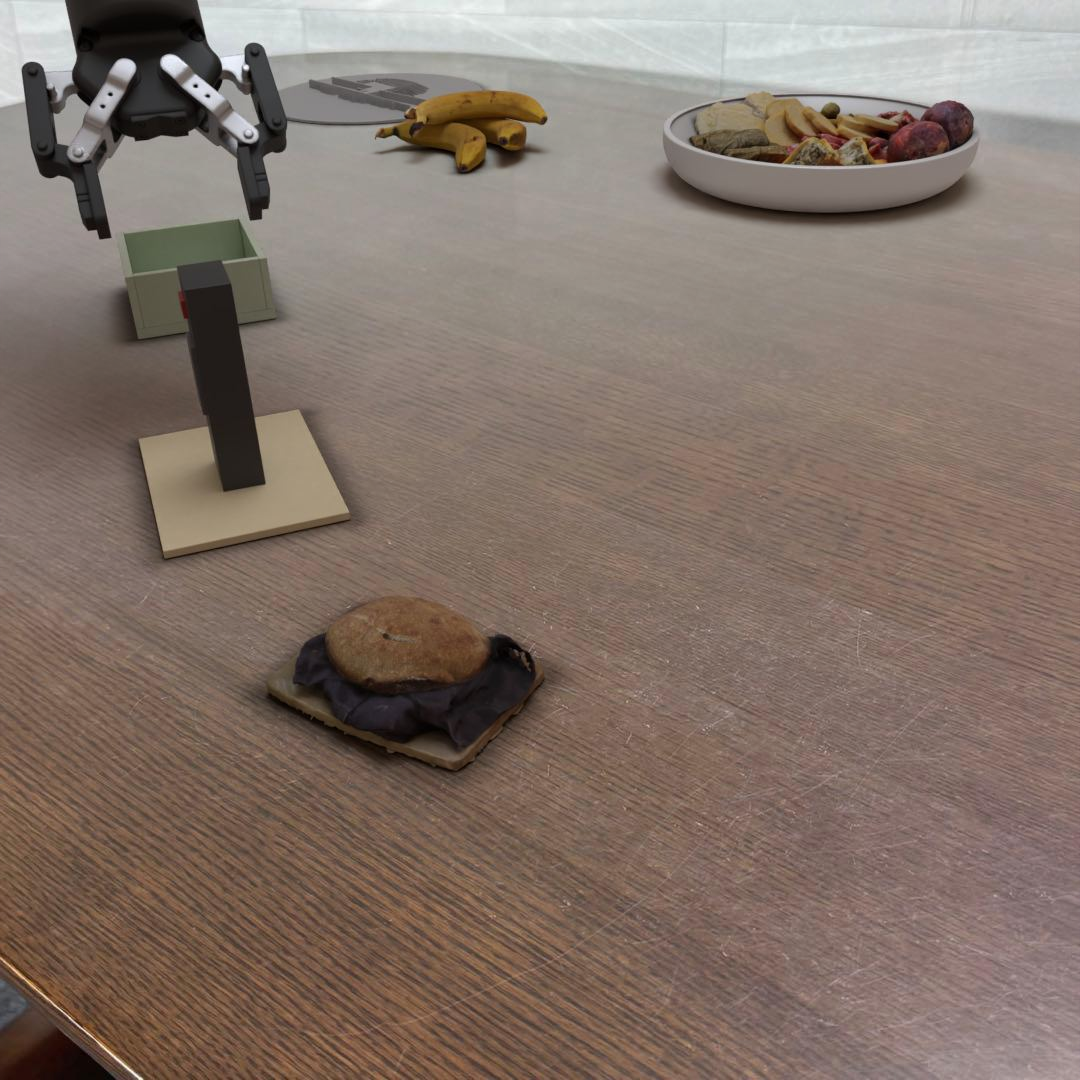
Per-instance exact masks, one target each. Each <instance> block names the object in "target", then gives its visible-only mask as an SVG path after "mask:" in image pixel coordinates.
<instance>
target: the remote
mask: <svg viewBox="0 0 1080 1080" xmlns="http://www.w3.org/2000/svg"><path fill="white" fill-rule="evenodd" d="M177 271H178V276H179V281H180V286H181V291H179V292H178V297H179V302H180V307H181V311H182V314H183V317H184V319H187V322H188V327H189V332H185V338H186V343H187V347H188V353H189V358H190V364H191V368H192V373H193V378H194V384H195V388H196V393H197V398H198V402H199V405H200V408H201V413H202V416H205V418H206V423H207V426H208V429H209V434H210V439H211V444H212V449H213V454H214V459H215V463H216V467H217V470H218V474H219V477H220V481H221V484H222V488H223V491H224V492H226V491H231V490H237V489H242V488H247V487H252V486H257V485H263V484H266V481H265V475H264V469H263V464H262V458H261V452H260V446H259V441H258V435H257V429H256V423H255V417H256V416H255V412H254V406H253V400H252V395H251V390H250V389H251V388H250V383H249V378H248V373H247V372H248V371H247V367H246V361H245V360H246V359H245V355H244V349H243V342H242V336H241V332H240V326H239V325H240V324H238V319H237V313H236V308H235V302H234V296H233V290H232V285H231V282H230V279H229V277H228V275H227V272H226V270H225V268H224V265H223V263H222V261H221V260H217V261H209V262H202V263H195V264H188V265H181V266H177Z"/></svg>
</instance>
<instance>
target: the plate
mask: <svg viewBox="0 0 1080 1080" xmlns="http://www.w3.org/2000/svg"><path fill="white" fill-rule="evenodd" d="M468 91H484V89H482V87H481V86H480V85H479V84H478V83H475V82H473V81H471V80H467V79H465V78H462V77H461V78H460V77H456V76H450V75H443V74H433V73H414V72H413V73H411V72H410V73H406V72H404V73H403V72H401V73H395V72H393V73H367V74H354V75H344V76H331V77H328V78H323V79H317V80H316V79H313V78H309V80H308V82H303V83H299V84H295V85H292V86H288V87H286V88H283V89H281V90H278V93H279V96H280V99H281V102H282V106H283V109H284V112H285V115H286V118H287V121H292V122H299V123H307V124H318V125H319V124H320V125H376V124H379V125H380V124H390V123H392V124H393V123H401V122H404V121H408V120H411V119H406V118H405V117H404V114H405V111H406V110H407V109H410V108H413V107H417V106H418V105H419V104H420V103H422V102H424V101H426V100H428V99H431V98H434V97H438V96H442V95H446V94H452V93H459V92H468Z"/></svg>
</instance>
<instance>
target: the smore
mask: <svg viewBox="0 0 1080 1080" xmlns="http://www.w3.org/2000/svg"><path fill="white" fill-rule="evenodd" d="M515 650H516V651H517V652H515ZM523 653H524V656H522V655H523ZM545 678H546V675H545V670H544V668H543V667H542V666H541V665H540V664H538V663H537V662H535V660H534V659H533V658H532V654H531V653H530V652H529V651H528V650H526V649H523V648H522V646H520V645H519V644H518V642H516V641H515V640H514V639H513V638H512V637H511V636H509V635H506V634H501V633H497V634H495V635H494V636H486V635H485V634H484V633H483V631H482V630H480V629H479V628H478V626H476V625H475V624H473V623H472V622H471V621H470V620H468V619H466V618H465V617H463V616H461V615H460V614H458V613H457V612H455V611H452V609H449V608H447V607H445V606H444V605H442V604H440V603H437V602H434V601H431V600H428V599H424V598H422V597H414V596H406V595H404V596H403V595H394V596H393V595H390V596H388V595H387V596H384V597H382V596H381V597H378V598H374V599H371V600H370V601H367V602H362V603H361V602H360V604H357V605H355V606H354V607H352V608H351V609H349V610H347V611H346V612H344V614H342V615H341V616H340V617H339V618H338V619H335V620H334V621H333V622H332V623H331V624H330V625H329V627H328V628H326V629H325V630H324V631H323V632H322V633H320V634H317V635H316V636H314V637H312V638H309V639H308V640H307V641H305V642H304V643H303V646H301V648H300V651H298V652H297V653H296V654H295V655H294V656H293V657H291V658H290V659H289V660H287V662H285V664H283V665H282V666H281V667H280V668H278V669H277V670H276V671H274V672H273V673H272V674H271V675H270V676H269V678H268V679H267V682H266V689H265V692H269V694H271V695H272V696H273V698H275V697H276V699H277V700H279V701H280V702H282V703H286V704H287V705H288V706H290V707H291V708H294V709H295V710H296V711H299V710H300V711H302V714H306V715H310V716H311V717H310V720H312V719H313V718H314V717H315V719H316V720H318V721H320V722H323V725H326V726H327V727H331V728H334V727H336V728H337V729H338V730H339V731H342V732H343V734H344V735H350V736H354V737H356V738H358V739H360V740H363V741H364V742H369V741H370V742H371V743H372V744H374V745H377V746H380V747H381V746H382V747H385V748H386V751H387V753H388V754H393V753H395V752H397V753H401V754H404V755H406V756H407V757H409V758H416V759H418V760H421V761H422V762H424V763H427V764H429V765H431V767H434V768H435V767H436V766H438V767H440V768H444V769H449V770H450V771H454V772H455V771H458V770H460V769H461V768H462V767H464V766H466V765H467V764H468V763H470V762H474V761H475V760H476V756H477V754H479V753H481V752H482V751H481V750H483V749H484V747H485V746H487V744H489V743H488V742H489V741H492V740H493V739H494V738H496V736H498V735H499V734H500V733H501V732H502V730H503V729H504V727H503V725H504V723H506V722H507V721H508V720H509V718H510V717H511V716H514V715H518V714H519V712H520V711H521V710H522V709H523V707H524V704H525V701H526V700H527V699H528V698H529V697H530V696H531V694H532V693H533V692H534V691H535V689H536V688H537V687H538V686H540V685H541V684H542V682H543V681H544V679H545Z"/></svg>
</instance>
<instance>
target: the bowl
mask: <svg viewBox="0 0 1080 1080" xmlns="http://www.w3.org/2000/svg"><path fill="white" fill-rule="evenodd" d="M974 121H975V117H974V114H973V113H972V111H971V110H970V109H969V108H968V107H967V106H965V104H964V103H962V102H959V101H958V102H957V101H956V100H950V99H947V100H944V101H940V102H936V103H934V104H933V105H932V104H928V103H923V102H920V101H915V100H910V99H909V100H908V99H904V98H903V99H902V98H896V97H889V96H882V95H881V96H880V95H873V94H872V95H871V94H860V93H859V94H858V93H847V92H823V91H822V92H820V91H819V92H817V91H816V92H815V91H813V92H811V91H810V92H807V91H806V92H805V91H804V92H803V91H802V92H796V91H795V92H775V93H774V92H773V93H771V92H766V91H765V90H761V91H760V92H753V93H748V94H747V95H741V96H740V95H739V96H733V97H727V98H721V99H715V100H710V101H707V102H702V103H698V104H695V105H692V106H689V107H686V108H683V109H680V110H679V111H677V112H675V113H673V114H671V116H669V117H668V118H667V119H666V120H665V122H664V123H663V125H662V126H663V127H662V145H663V151H664V153H665V157H666V160H667V162H668V163H669V165H670V167H671V168H672V169H673V171H674V172H675V174H677V176H679V177H680V178H681V179H682V180H683V181H684V182H686V183H687V184H688V185H690V186H692V187H693V188H695V189H696V190H699V191H700V192H702V193H704V194H707V195H709V196H712V197H715V198H718V199H721V200H724V201H726V202H727V201H728V202H731V203H736V204H740V205H745V206H749V207H754V208H760V209H766V210H776V211H783V212H784V211H785V212H797V213H817V214H818V213H820V214H821V213H824V214H825V213H829V214H830V213H831V214H833V213H856V212H869V211H877V210H885V209H891V208H895V207H902V206H906V205H910V204H913V203H917V202H920V201H923V200H926V199H928V198H932V197H933V196H936V195H937V194H940V193H942V192H944V191H945V190H947V189H949V188H950V187H952V186H953V185H954V184H956V183H957V182H958V181H959V180H960V179H961V178H963V176H964V175H965V174H966V173H967V171H968V170H969V169H970V167H971V166H972V164H973V162H974V160H975V157H976V156H977V152H978V149H979V145H980V137H981V131H980V129H979V127H978V125H977V124H975V122H974Z"/></svg>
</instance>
